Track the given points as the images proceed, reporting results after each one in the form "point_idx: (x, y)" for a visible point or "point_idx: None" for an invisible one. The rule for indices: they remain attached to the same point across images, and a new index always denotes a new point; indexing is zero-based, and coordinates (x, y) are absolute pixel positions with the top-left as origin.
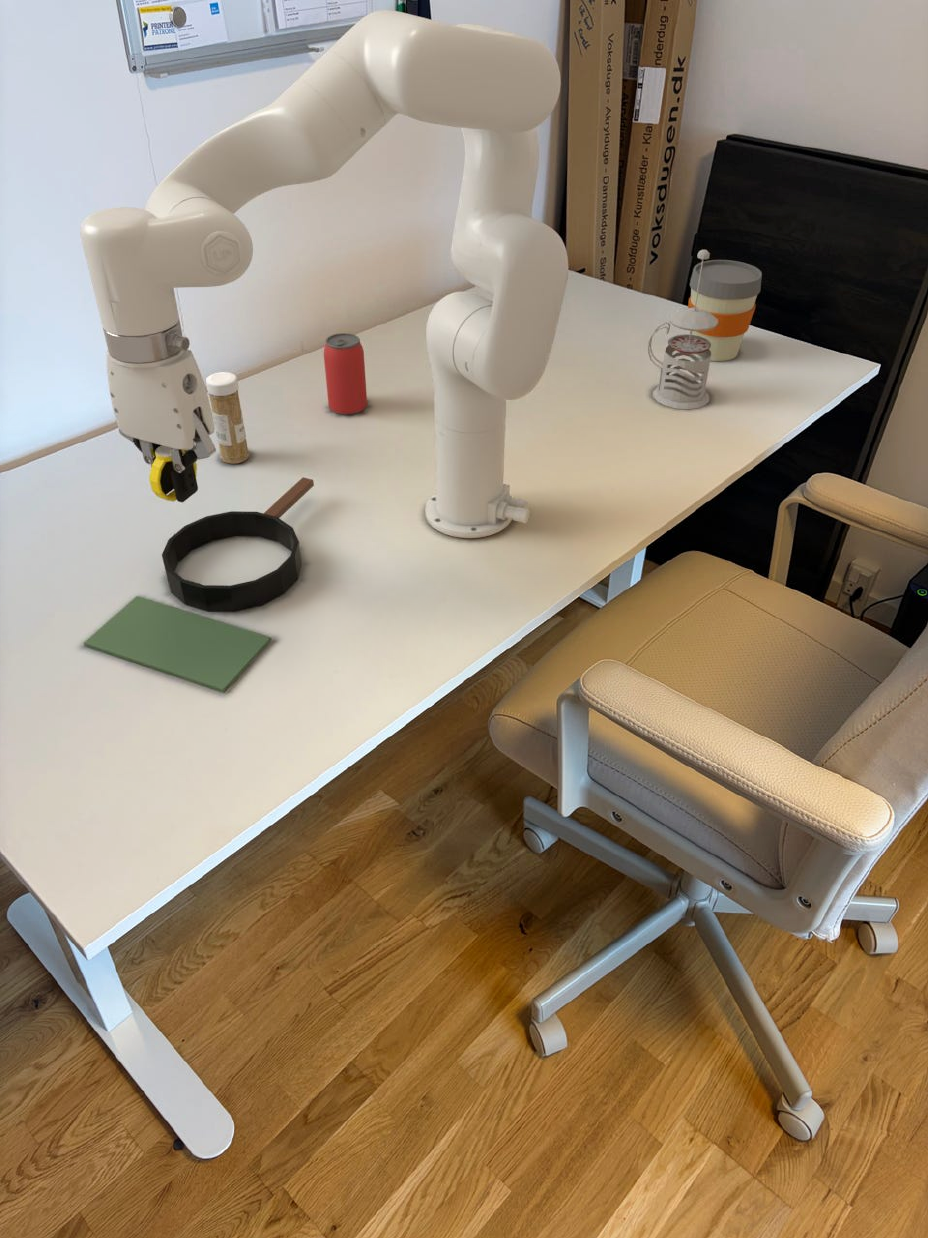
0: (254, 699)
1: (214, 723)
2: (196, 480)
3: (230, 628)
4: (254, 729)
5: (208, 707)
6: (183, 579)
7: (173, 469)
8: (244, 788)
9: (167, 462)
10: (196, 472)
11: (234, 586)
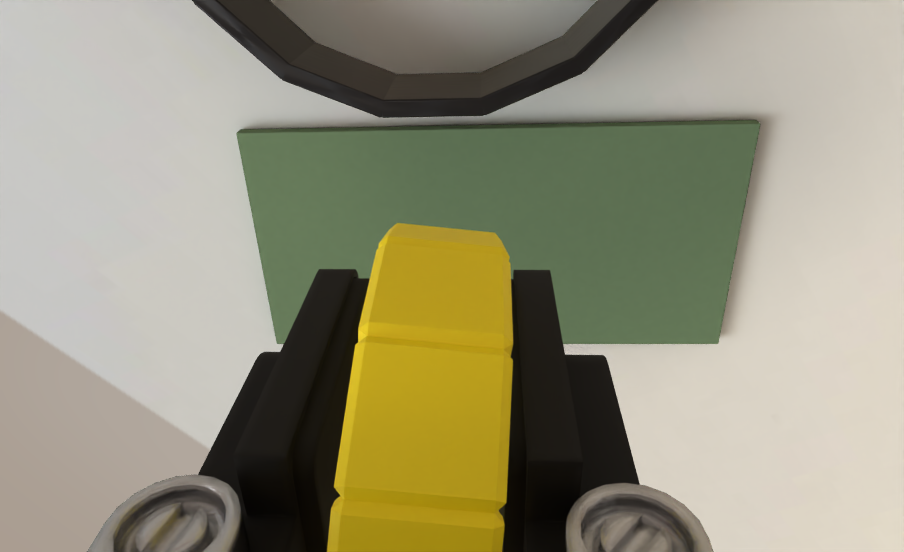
0: (803, 327)
1: (739, 413)
2: (555, 306)
3: (613, 142)
4: (841, 397)
5: (701, 383)
6: (386, 103)
7: (345, 394)
8: (878, 510)
9: (329, 522)
10: (504, 247)
11: (593, 55)
